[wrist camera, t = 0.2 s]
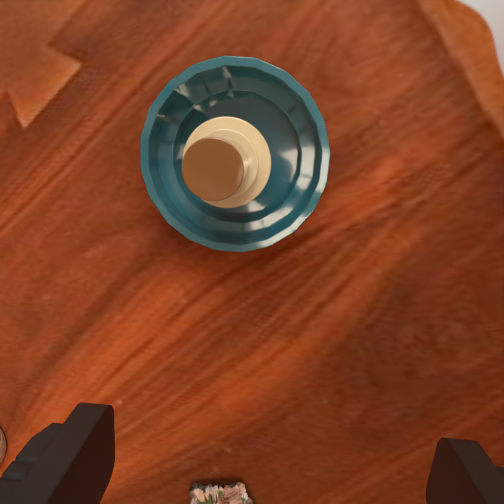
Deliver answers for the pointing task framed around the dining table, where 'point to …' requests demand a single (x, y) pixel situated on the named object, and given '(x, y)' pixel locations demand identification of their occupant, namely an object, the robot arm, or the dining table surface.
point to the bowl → (266, 122)
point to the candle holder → (2, 445)
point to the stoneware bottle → (226, 162)
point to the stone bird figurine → (219, 494)
